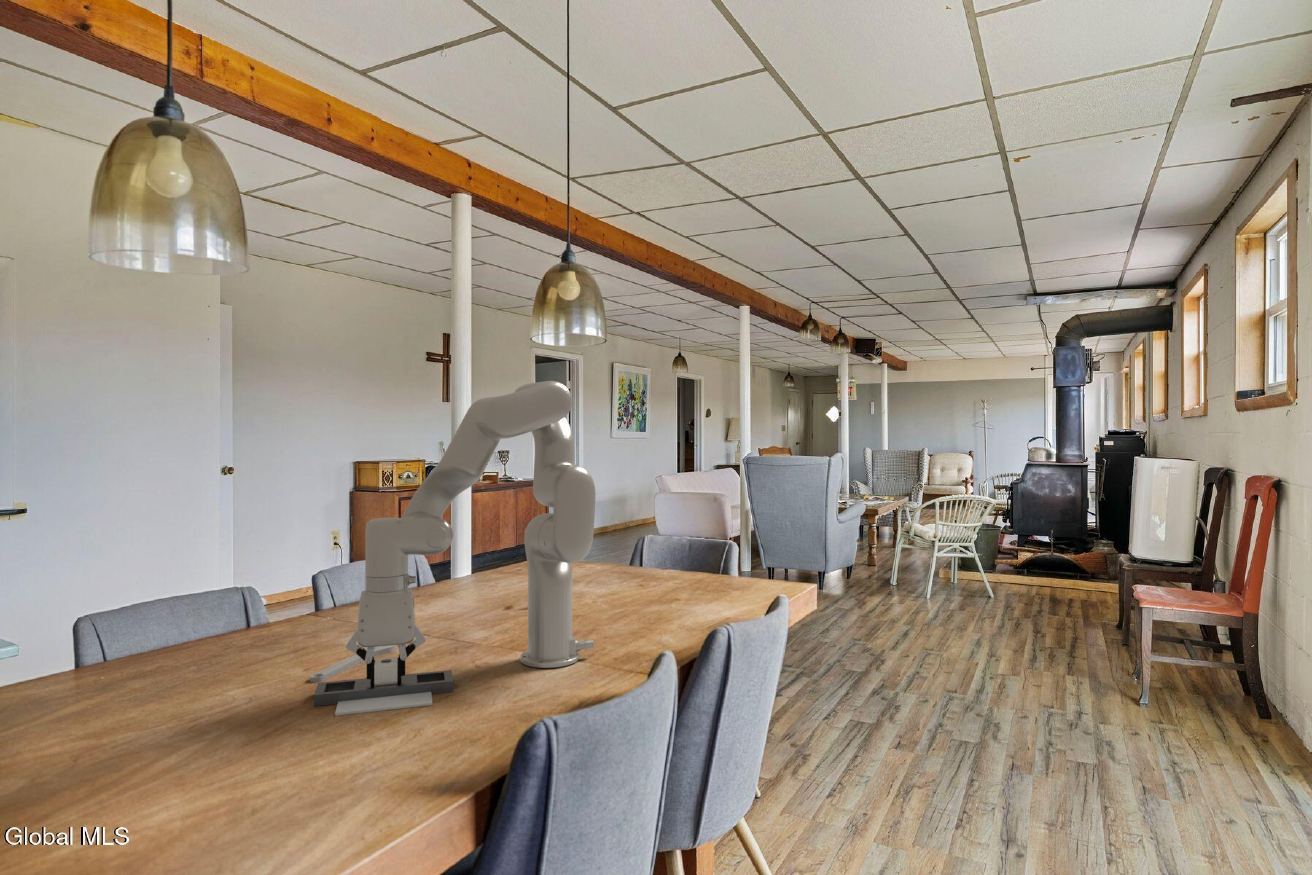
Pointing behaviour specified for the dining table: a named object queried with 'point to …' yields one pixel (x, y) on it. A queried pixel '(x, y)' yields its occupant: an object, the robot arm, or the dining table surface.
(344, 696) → the rail
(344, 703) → the mat
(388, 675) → the grey post with hole
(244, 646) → the dining table surface
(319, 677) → the adjustable wrench
